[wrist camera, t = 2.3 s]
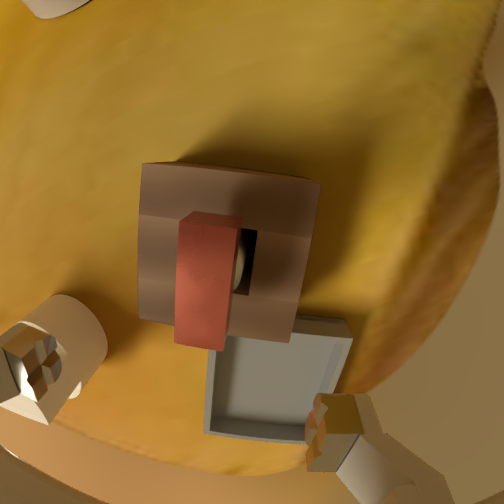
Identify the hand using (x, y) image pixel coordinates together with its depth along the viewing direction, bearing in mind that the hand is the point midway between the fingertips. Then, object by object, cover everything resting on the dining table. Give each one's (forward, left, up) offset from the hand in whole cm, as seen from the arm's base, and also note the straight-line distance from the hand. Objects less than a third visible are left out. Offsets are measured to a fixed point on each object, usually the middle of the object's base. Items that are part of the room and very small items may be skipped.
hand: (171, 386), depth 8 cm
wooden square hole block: (0, 0, -16) cm, 16 cm away
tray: (+13, +5, -16) cm, 21 cm away
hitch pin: (0, 0, -16) cm, 16 cm away
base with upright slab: (+13, -16, -16) cm, 26 cm away
